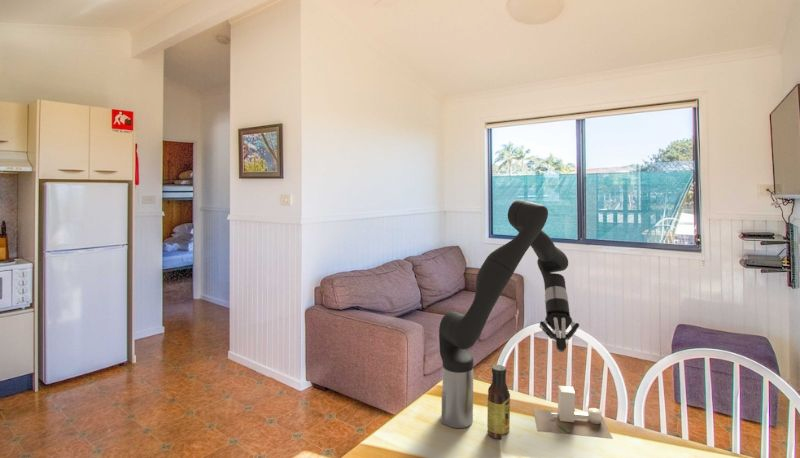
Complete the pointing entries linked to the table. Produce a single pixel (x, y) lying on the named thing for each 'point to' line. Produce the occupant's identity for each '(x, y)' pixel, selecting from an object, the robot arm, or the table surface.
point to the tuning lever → (573, 407)
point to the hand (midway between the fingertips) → (561, 350)
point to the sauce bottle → (498, 404)
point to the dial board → (569, 425)
